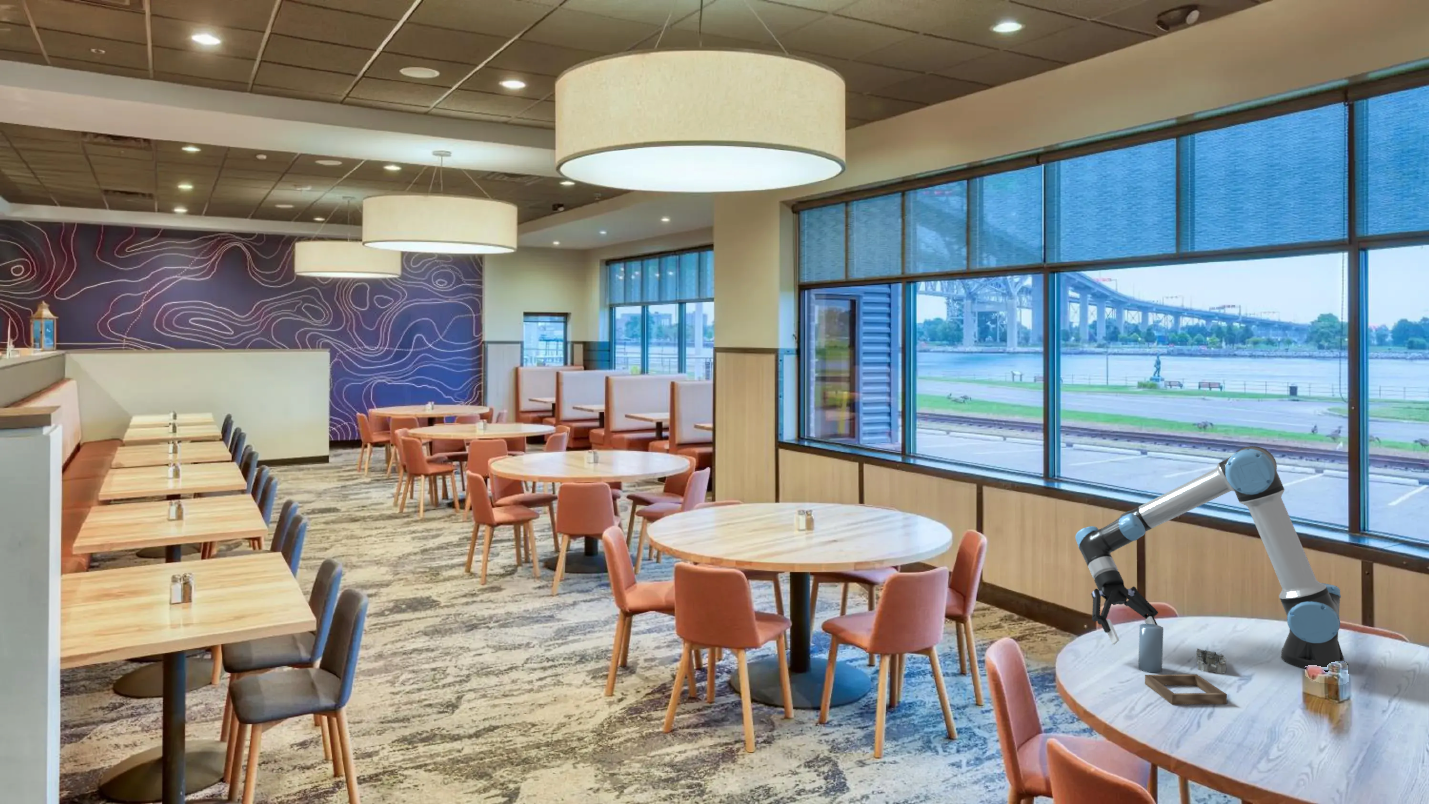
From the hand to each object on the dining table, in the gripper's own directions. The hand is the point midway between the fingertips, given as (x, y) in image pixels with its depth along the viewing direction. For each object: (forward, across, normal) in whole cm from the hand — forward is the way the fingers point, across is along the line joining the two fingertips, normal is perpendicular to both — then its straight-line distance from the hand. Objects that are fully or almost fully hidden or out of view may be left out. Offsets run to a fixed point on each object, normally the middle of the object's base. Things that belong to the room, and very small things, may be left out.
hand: (1137, 640), depth 265 cm
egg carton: (+10, -18, 0) cm, 21 cm away
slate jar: (+8, 0, -1) cm, 8 cm away
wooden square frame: (+21, +3, +12) cm, 24 cm away
